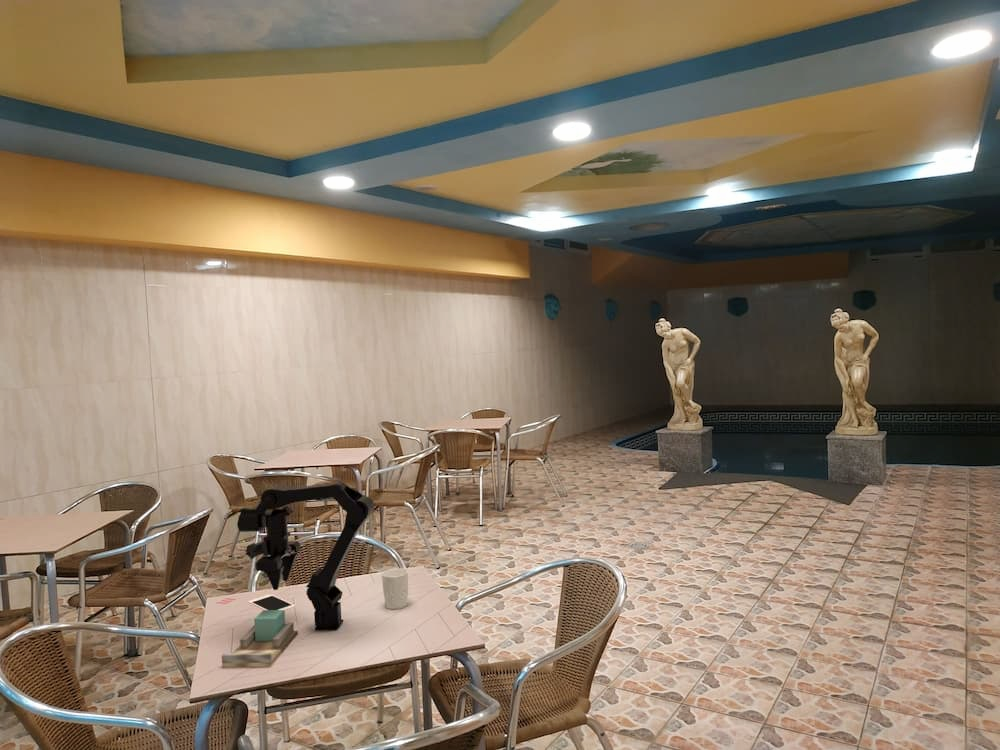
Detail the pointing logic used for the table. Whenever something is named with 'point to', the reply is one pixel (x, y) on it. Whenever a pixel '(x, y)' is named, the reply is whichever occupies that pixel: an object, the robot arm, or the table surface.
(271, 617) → the block
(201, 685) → the table surface
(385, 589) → the white cup
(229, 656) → the chute
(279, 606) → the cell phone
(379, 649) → the table surface
